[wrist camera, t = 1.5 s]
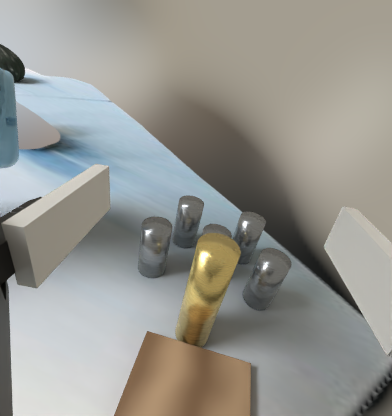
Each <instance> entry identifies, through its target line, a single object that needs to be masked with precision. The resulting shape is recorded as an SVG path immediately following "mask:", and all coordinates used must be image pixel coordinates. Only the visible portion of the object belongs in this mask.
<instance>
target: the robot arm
mask: <svg viewBox="0 0 392 416" xmlns="http://www.w3.org/2000/svg"><path fill="white" fill-rule="evenodd" d="M18 158H19V146H18V131H17V116H16V99H15V87H14V78H13V75H12V74H11V73H10V72H9V71H6V70H3V69H1V68H0V168H7V167H11V166H13V165H14V164H15V163H16V162H17V161H18ZM109 210H110V183H109V166H105V165H99V164H95V165H93V166H92V167H90V168H89V169H87V170H85V171H84V172H82V173H81V174H79V175H77V176H76V177H74V178H73V179H71V180H69V181H68V182H66V183H65V184H63V185H62V186H60V187H58V188H57V189H55V190H54V191H52V192H50V193H49V194H47V195H46V196H44V197H39V198H36V199H33V200H29V201H27V202H26V203H24V204H22V205H21V206H19V208H16V209H14V210H12V212H9V213H7V214H6V215H4V216H2V217H1V218H0V416H13V410H12V380H11V350H10V320H9V290H8V284H7V281H6V280H7V279H8V278H9V277H11V276H12V275H13V274H14V273H15V276H16V280H17V284H18V285H22V286H27V287H33V288H38V287H39V286H40V285H41V284H42V282H43V281H44V280H45V279H46V278H47V277H48V276H49V275H50V274H51V273H52V272H53V270H54V269H55V268H56V267H57V266H58V265H59V264H60V263H61V262H62V261H63V260H64V259H65V257H66V256H67V255H68V254H69V253H70V252H71V251H72V250H73V249H74V248H75V247H76V245H77V244H78V243H79V242H80V241H81V240H82V239H83V238H84V237H85V236H86V235H87V233H88V232H89V231H90V230H91V229H92V228H93V227H94V226H95V225H96V224H97V223H98V222H99V220H100V219H101V218H102V217H103V216H104V215H105V214H106V213H107V212H108V211H109ZM324 248H325V250H326V252H327V254H328V255H329V257H330V259H331V260H332V262H333V264H334V266H335V267H336V269H337V270H338V272H339V274H340V276H341V277H342V279H343V281H344V283H345V285H346V286H347V288H348V290H349V291H350V293H351V295H352V296H353V298H354V300H355V302H356V303H357V305H358V307H359V308H360V310H361V312H362V314H363V316H364V317H365V319H366V321H367V322H368V324H369V326H370V328H371V329H372V331H373V333H374V334H375V336H376V338H377V340H378V341H379V343H380V345H381V347H382V348H383V350H384V352H385V353H386V355H387V356H391V357H392V243H391V242H390V241H389V240H388V239H387V238H386V237H385V236H384V235H383V234H382V233H381V232H380V231H379V230H378V229H376V227H375V226H374V225H373V224H372V223H371V222H370V221H369V220H368V219H367V218H365V217H364V215H363V214H361V213H360V212H359V211H358V210H357V209H355V208H349V207H342V209H341V211H340V213H339V215H338V217H337V220H336V222H335V224H334V226H333V228H332V230H331V232H330V234H329V237H328V239H327V241H326V243H325V245H324Z"/></svg>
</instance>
